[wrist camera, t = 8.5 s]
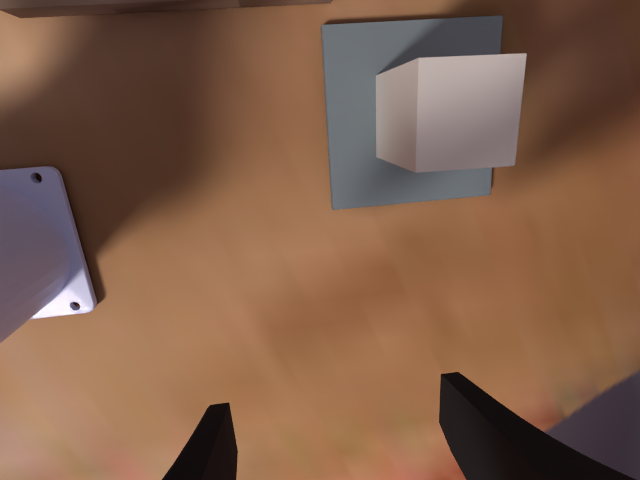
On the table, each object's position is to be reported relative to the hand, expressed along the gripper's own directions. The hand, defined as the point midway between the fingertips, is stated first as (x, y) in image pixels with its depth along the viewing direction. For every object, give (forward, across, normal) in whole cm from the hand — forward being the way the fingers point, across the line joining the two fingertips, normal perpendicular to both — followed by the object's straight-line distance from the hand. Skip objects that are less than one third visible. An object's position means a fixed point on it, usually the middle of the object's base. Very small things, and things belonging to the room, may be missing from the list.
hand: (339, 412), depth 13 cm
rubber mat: (+10, -6, -9) cm, 15 cm away
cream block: (+10, -6, -9) cm, 15 cm away
